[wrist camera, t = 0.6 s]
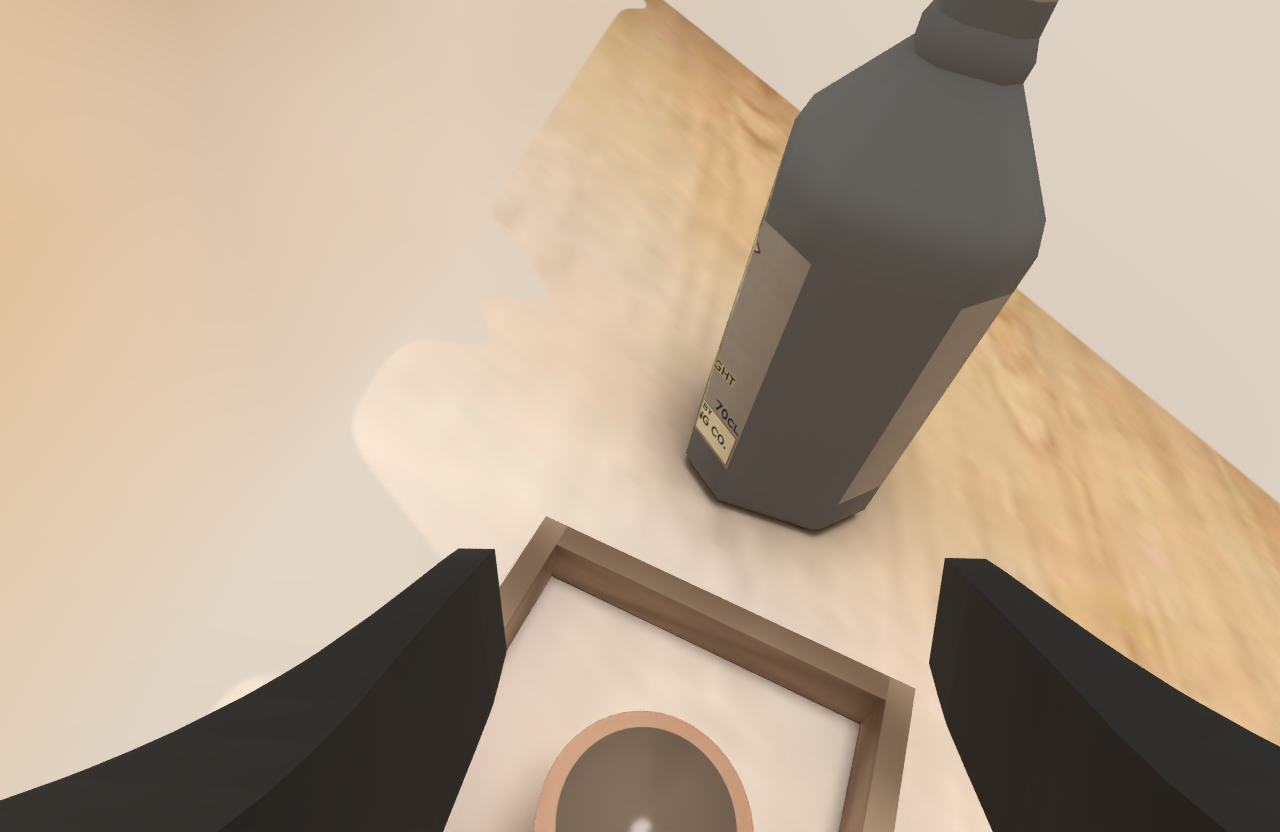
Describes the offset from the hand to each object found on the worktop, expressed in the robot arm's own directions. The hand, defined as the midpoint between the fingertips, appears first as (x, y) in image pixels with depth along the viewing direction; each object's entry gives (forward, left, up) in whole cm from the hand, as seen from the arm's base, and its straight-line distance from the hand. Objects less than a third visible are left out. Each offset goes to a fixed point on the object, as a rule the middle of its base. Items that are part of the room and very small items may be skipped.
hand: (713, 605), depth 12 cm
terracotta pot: (0, -1, -18) cm, 18 cm away
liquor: (+21, -1, -18) cm, 27 cm away
